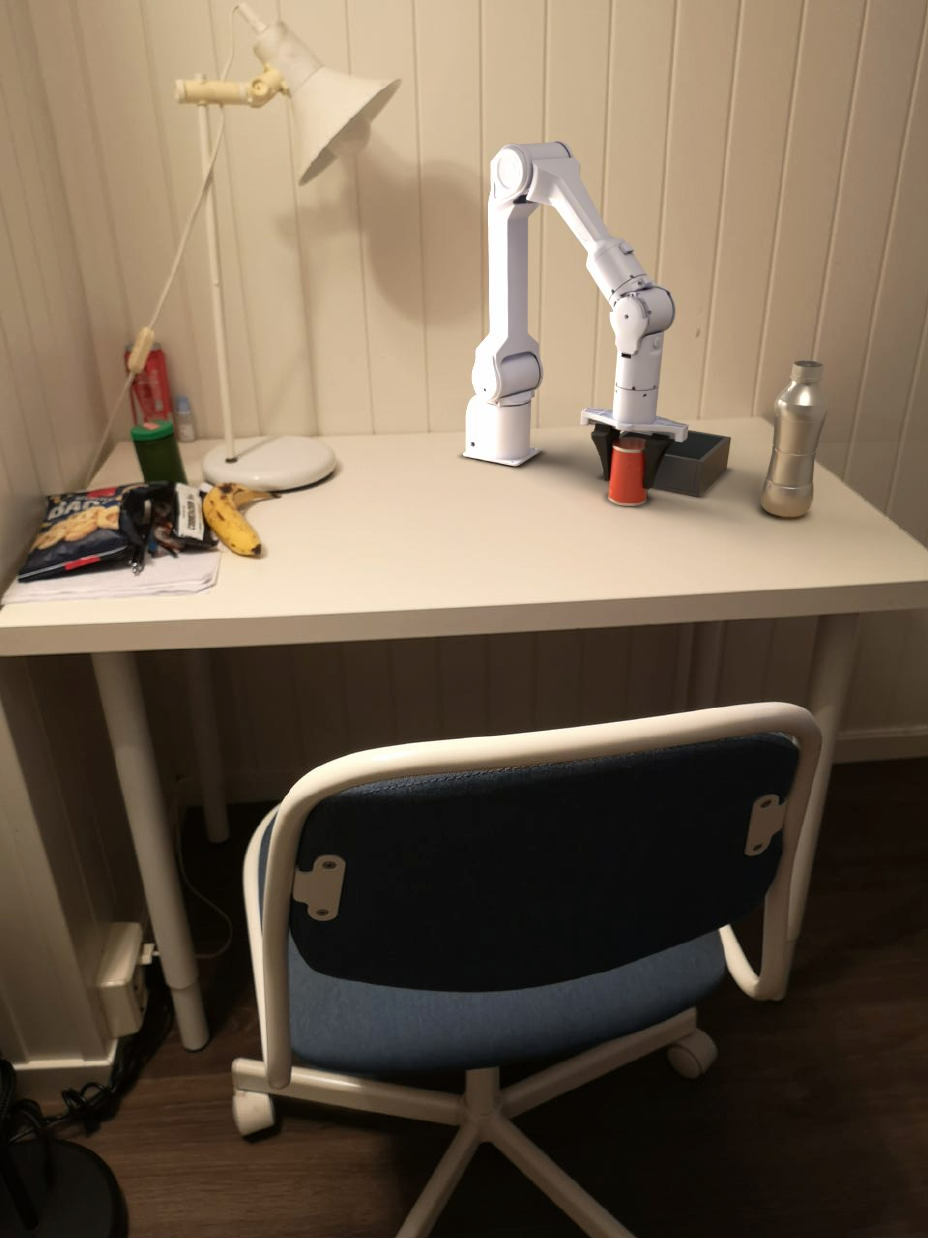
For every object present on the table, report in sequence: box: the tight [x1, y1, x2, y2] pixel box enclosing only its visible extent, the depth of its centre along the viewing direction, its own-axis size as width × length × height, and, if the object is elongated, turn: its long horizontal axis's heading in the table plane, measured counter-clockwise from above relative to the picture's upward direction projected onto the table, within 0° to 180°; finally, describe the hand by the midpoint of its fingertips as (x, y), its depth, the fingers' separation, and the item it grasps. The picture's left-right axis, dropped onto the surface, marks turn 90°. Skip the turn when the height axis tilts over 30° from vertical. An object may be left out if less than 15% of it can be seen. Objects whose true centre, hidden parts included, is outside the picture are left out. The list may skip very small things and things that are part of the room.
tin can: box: [607, 437, 648, 507], centre depth 134 cm, size 5×5×8 cm
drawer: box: [601, 429, 732, 498], centre depth 143 cm, size 15×13×5 cm
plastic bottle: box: [760, 359, 829, 518], centre depth 126 cm, size 6×7×20 cm
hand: (628, 482), depth 134 cm, fingers closed on tin can, 5 cm apart
